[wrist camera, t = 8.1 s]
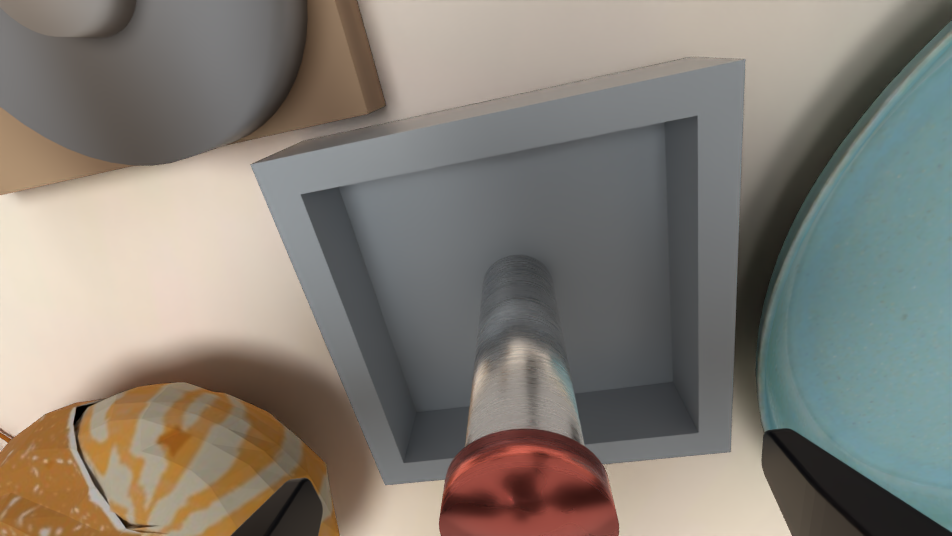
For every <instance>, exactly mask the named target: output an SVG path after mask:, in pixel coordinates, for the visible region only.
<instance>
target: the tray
mask: <svg viewBox="0 0 952 536" xmlns="http://www.w3.org/2000/svg"><path fill="white" fill-rule="evenodd" d="M744 81H745V59H729V58H704V57H688V58H683V59H679V60H674V61H670V62H665V63H660V64H656V65H651V66H646V67H642V68H637V69H633V70H628V71H623V72H619V73H614V74H610V75H605V76H600V77H596V78H591V79H587V80H582V81H577V82H573V83H568V84H564V85H559V86H554V87H550V88H545V89H540V90H536V91H531V92H527V93H522V94H517V95H513V96H508V97H504V98H499V99H494V100H490V101H485V102H481V103H476V104H471V105H467V106H462V107H458V108H453V109H448V110H444V111H439V112H434V113H430V114H425V115H421V116H416V117H411V118H407V119H402V120H398V121H393V122H388V123H384V124H379V125H375V126H370V127H365V128H361V129H356V130H352V131H347V132H342V133H338V134H333V135H328V136H324V137H319V138H315V139H310V140H305V141H302V142H299V143H297V144H295V145H293V146H290V147H288V148H286V149H284V150H282V151H279V152H277V153H275V154H273V155H270V156H268V157H266V158H264V159H262V160H259V161H257V162H255V163H253V164H250V165H251V167H252V169H253V172H254V174H255V177H256V179H257V181H258V184H259V186H260V188H261V191H262V193H263V196H264V198H265V200H266V203H267V205H268V208H269V210H270V212H271V215H272V217H273V219H274V222H275V224H276V227H277V229H278V231H279V234H280V236H281V238H282V241H283V243H284V246H285V248H286V250H287V253H288V255H289V258H290V260H291V262H292V265H293V267H294V269H295V272H296V274H297V277H298V279H299V281H300V284H301V286H302V289H303V291H304V293H305V296H306V298H307V300H308V303H309V305H310V308H311V310H312V312H313V315H314V317H315V319H316V322H317V324H318V327H319V329H320V331H321V334H322V336H323V339H324V341H325V343H326V346H327V348H328V350H329V353H330V355H331V358H332V360H333V362H334V365H335V367H336V369H337V372H338V374H339V377H340V379H341V381H342V384H343V386H344V389H345V391H346V393H347V396H348V398H349V400H350V403H351V405H352V408H353V410H354V412H355V415H356V417H357V420H358V422H359V424H360V427H361V429H362V431H363V434H364V436H365V439H366V441H367V443H368V446H369V448H370V450H371V453H372V455H373V458H374V460H375V462H376V465H377V467H378V470H379V472H380V474H381V477H382V479H383V481H384V484H385V485H393V484H403V483H413V482H424V481H434V480H445V478H446V473H447V470H448V467H449V465H450V464H451V462H452V460H453V459H454V458H455V456H456V455H457V454H458V453H459V452H460V451H461V450H462V449H463V448H464V447H465V443H466V434H467V425H468V416H469V406H470V397H471V388H472V379H473V369H474V360H475V351H476V342H477V333H478V323H479V314H480V305H481V296H482V286H483V279H484V276H485V274H486V272H487V270H488V269H489V268H490V266H491V265H492V264H494V263H495V262H496V261H498V260H499V259H501V258H504V257H506V256H510V255H526V256H530V257H532V258H535V259H537V260H538V261H540V262H541V263H542V264H544V265H545V266H546V268H547V269H548V271H549V272H550V274H551V277H552V281H553V286H554V291H555V296H556V301H557V306H558V311H559V317H560V322H561V327H562V332H563V337H564V342H565V347H566V353H567V358H568V363H569V368H570V373H571V378H572V383H573V388H574V394H575V399H576V404H577V409H578V414H579V419H580V424H581V430H582V435H583V440H584V445H585V447H587V448H588V449H589V450H590V451H591V452H593V453H594V454H595V456H596V457H597V458H598V459H599V460H600V462H601V463H602V464H611V463H621V462H632V461H642V460H653V459H663V458H673V457H684V456H694V455H705V454H715V453H725V452H731V429H732V402H733V375H734V349H735V322H736V295H737V269H738V242H739V215H740V188H741V162H742V135H743V108H744Z"/></svg>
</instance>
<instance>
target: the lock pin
mask: <svg viewBox="0 0 952 536" xmlns="http://www.w3.org/2000/svg"><path fill="white" fill-rule="evenodd" d="M439 529H440V534H441V536H618V535H619V523H618V518H617V514H616V509H615V505H614V501H613V497H612V492H611V488H610V484H609V480H608V475H607V473H606V470H605V468H604V466H603V465H602V463H601V462H600V460H599V459H598V458H597V457H596V456H595V454H594V453H593V452H591V451H590V450H589V449H588V448H587V447H585V445H584V440H583V435H582V430H581V424H580V419H579V414H578V409H577V404H576V399H575V394H574V388H573V383H572V378H571V373H570V368H569V363H568V358H567V353H566V347H565V342H564V337H563V332H562V327H561V322H560V317H559V311H558V306H557V301H556V296H555V291H554V286H553V281H552V277H551V274H550V272H549V271H548V269H547V268H546V266H545V265H544V264H542V263H541V262H540V261H538V260H537V259H535V258H532V257H530V256H526V255H510V256H506V257H504V258H501V259H499V260H498V261H496V262H495V263H494V264H492V265H491V266H490V268H489V269H488V270H487V272H486V274H485V276H484V279H483V286H482V296H481V305H480V314H479V323H478V333H477V342H476V351H475V360H474V369H473V379H472V388H471V397H470V406H469V416H468V425H467V434H466V443H465V447H464V448H463V449H462V450H461V451H460V452H459V453H458V454H457V455H456V456H455V458H454V459H453V460H452V462H451V464H450V465H449V467H448V470H447V473H446V478H445V485H444V492H443V498H442V505H441V512H440V519H439Z"/></svg>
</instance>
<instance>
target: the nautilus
mask: <svg viewBox="0 0 952 536" xmlns="http://www.w3.org/2000/svg"><path fill="white" fill-rule="evenodd" d="M0 438H2V439H3V440H5V441H6V442H8V444H7V445H6V446H5V447H4V449H3V450H2V451H1V452H0V536H230V535H231V534H232V533H233V532H234V531H235V530H237V529H238V528H239V527H240V526H241V525H242V524H243V523H244V522H245V521H246V520H247V519H248V518H249V517H250V516H251V515H252V514H253V513H254V512H255V511H256V510H257V509H258V508H259V507H260V506H261V505H262V504H263V503H264V502H265V501H266V500H267V499H269V498H270V497H271V496H272V495H273V494H274V493H275V492H276V491H277V490H278V489H279V488H280V487H281V486H282V485H283V484H284V483H285V482H286V481H288V480H290V479H296V478H308V479H309V480H310V481H311V482H312V484H313V486H314V488H315V490H316V492H317V494H318V496H319V498H320V500H321V502H322V506H323V515H322V521H321V525H320V530H319V535H318V536H340V534H339V530H338V525H337V520H336V515H335V511H334V506H333V501H332V496H331V492H330V486H329V479H328V473H327V466H326V463H325V462H324V461H323V460H322V459H321V458H320V457H319V456H318V455H317V454H315V453H314V452H313V451H312V450H311V449H310V448H309V447H308V446H307V445H306V444H305V443H304V442H303V441H302V440H301V439H299V438H298V437H297V436H296V435H295V434H294V433H292V432H291V431H290V430H289V429H288V428H287V427H285V426H284V425H283V424H282V423H281V422H280V421H278V420H277V419H276V418H275V417H274V416H273V415H272V414H270V413H269V412H267V411H265V410H263V409H260V408H258V407H256V406H254V405H252V404H250V403H247V402H245V401H243V400H240V399H238V398H236V397H233V396H231V395H229V394H226V393H219V392H213V391H210V390H207V389H204V388H201V387H198V386H195V385H192V384H189V383H186V382H178V383H164V384H154V385H147V386H141V387H136V388H133V389H130V390H127V391H124V392H122V393H119V394H116V395H114V396H112V397H109V398H105V399H99V400H94V401H86V402H78V403H74V404H71V405H69V406H66V407H63V408H61V409H58V410H55V411H52V412H50V413H47V414H45V415H44V416H42V417H41V418H40V419H38V420H37V421H36V422H34V423H33V424H32V425H30V426H29V427H28V428H26V429H25V430H23V431H22V432H21V433H19V434H18V435H17V436H15V437H14V438H13V439H10V438H8V437H7V436H5V435H4V434H2V433H0Z"/></svg>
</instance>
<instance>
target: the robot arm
mask: <svg viewBox="0 0 952 536" xmlns="http://www.w3.org/2000/svg"><path fill="white" fill-rule="evenodd" d="M762 468H763V471H764V474H765V477H766V479H767V481H768V484H769V486H770V488H771V490H772V492H773V495H774V497H775V499H776V501H777V503H778V506H779V508H780V510H781V512H782V515H783V517H784V519H785V521H786V523H787V526H788V528H789V530H790V532H791V534H792V536H952V532H951V531H949V530H948V529H946V528H945V527H943V526H942V525H940V524H939V523H937V522H935V521H934V520H932V519H931V518H929V517H928V516H926V515H925V514H923V513H921V512H920V511H918V510H917V509H915V508H914V507H912V506H911V505H909V504H907V503H906V502H904V501H903V500H901V499H900V498H898V497H897V496H895V495H894V494H892V493H890V492H889V491H887V490H886V489H884V488H883V487H881V486H880V485H878V484H876V483H875V482H873V481H872V480H870V479H869V478H867V477H866V476H864V475H863V474H861V473H859V472H858V471H856V470H855V469H853V468H852V467H850V466H849V465H847V464H845V463H844V462H842V461H841V460H839V459H838V458H836V457H835V456H833V455H832V454H830V453H828V452H827V451H825V450H824V449H822V448H821V447H819V446H818V445H816V444H814V443H813V442H811V441H810V440H808V439H807V438H805V437H804V436H802V435H800V434H799V433H797V432H796V431H794V430H792V429H789V428H782V429H772V430H767V431H766V432H765V433H764V436H763V449H762ZM322 515H323V506H322V502H321V500H320V498H319V496H318V494H317V492H316V490H315V488H314V486H313V484H312V482H311V481H310V480H309V479H308V478H296V479H290V480H288V481H286V482H285V483H284V484H283V485H282V486H281V487H280V488H279V489H278V490H277V491H276V492H275V493H274V494H273V495H272V496H271V497H270V498H269V499H267V500H266V501H265V502H264V503H263V504H262V505H261V506H260V507H259V508H258V509H257V510H256V511H255V512H254V513H253V514H252V515H251V516H250V517H249V518H248V519H247V520H246V521H245V522H244V523H243V524H242V525H241V526H240V527H239V528H238V529H237V530H235V531H234V532H233V533H232V534H231V535H230V536H318V535H319V530H320V525H321V521H322Z"/></svg>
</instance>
